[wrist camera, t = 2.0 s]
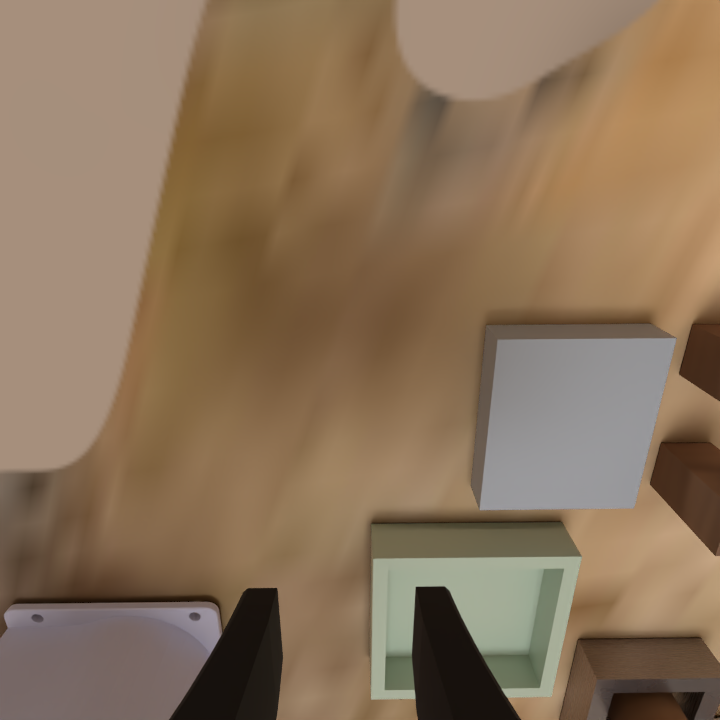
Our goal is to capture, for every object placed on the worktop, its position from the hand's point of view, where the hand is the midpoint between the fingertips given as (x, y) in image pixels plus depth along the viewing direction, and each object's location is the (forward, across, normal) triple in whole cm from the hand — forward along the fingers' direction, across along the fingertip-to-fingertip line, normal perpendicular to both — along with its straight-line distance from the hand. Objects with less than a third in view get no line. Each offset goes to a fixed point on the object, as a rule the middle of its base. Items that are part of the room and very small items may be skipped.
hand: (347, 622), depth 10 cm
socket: (+9, -14, +16) cm, 23 cm away
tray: (+9, -5, +10) cm, 14 cm away
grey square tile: (+10, -8, 0) cm, 13 cm away
